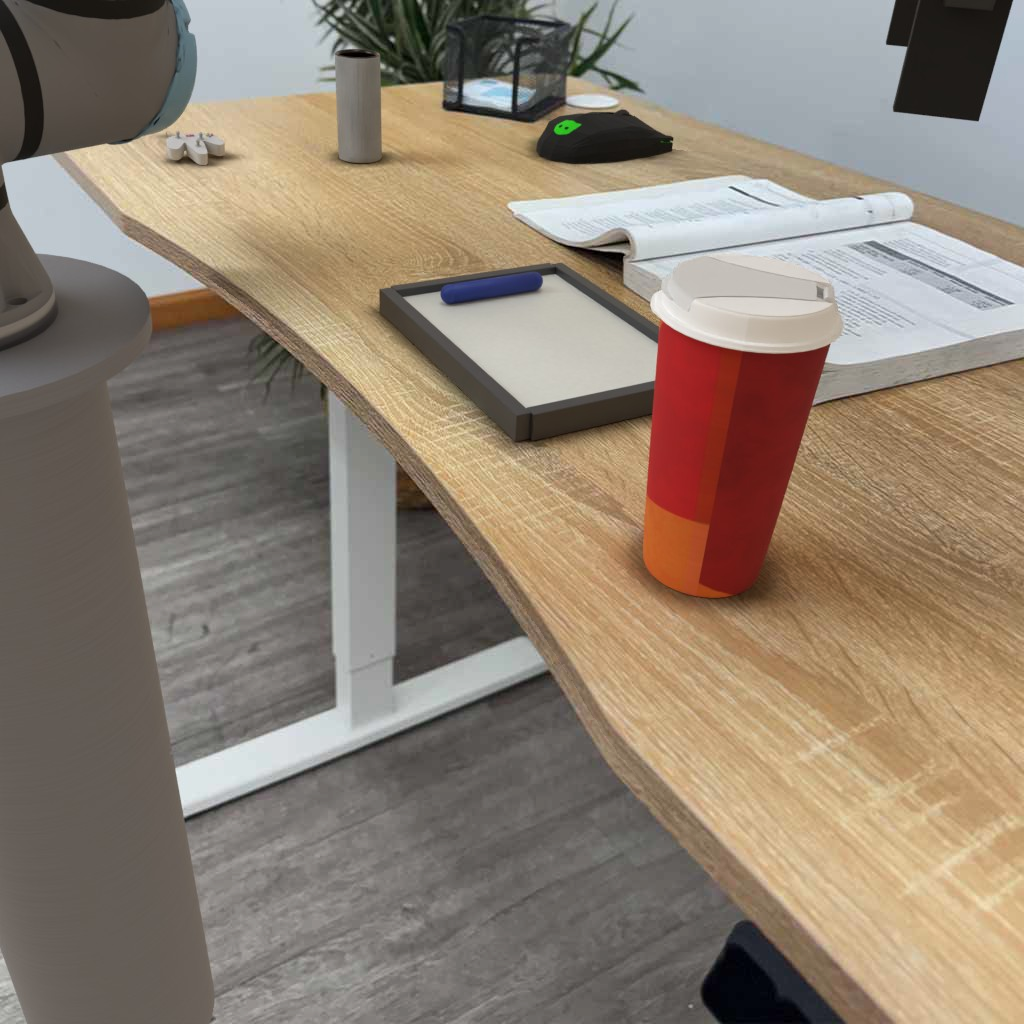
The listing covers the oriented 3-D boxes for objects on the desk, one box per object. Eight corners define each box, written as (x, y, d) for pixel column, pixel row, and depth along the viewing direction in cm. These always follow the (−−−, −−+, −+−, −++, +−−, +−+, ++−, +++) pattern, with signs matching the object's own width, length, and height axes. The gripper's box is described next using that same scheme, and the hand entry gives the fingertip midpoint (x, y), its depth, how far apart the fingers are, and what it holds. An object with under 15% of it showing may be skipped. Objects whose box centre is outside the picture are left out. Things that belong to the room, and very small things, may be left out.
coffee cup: (783, 531, 57) (847, 262, 48) (781, 626, 50) (854, 332, 42) (628, 505, 58) (665, 239, 50) (605, 594, 51) (643, 303, 43)
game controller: (188, 169, 105) (185, 142, 104) (121, 146, 111) (117, 120, 110) (234, 158, 109) (232, 132, 108) (167, 137, 115) (163, 111, 114)
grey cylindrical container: (348, 165, 109) (345, 58, 104) (331, 154, 112) (327, 49, 107) (388, 161, 111) (387, 56, 106) (371, 150, 114) (369, 47, 109)
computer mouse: (508, 143, 120) (510, 106, 117) (614, 127, 128) (618, 92, 126) (574, 169, 112) (578, 130, 110) (682, 150, 121) (687, 113, 119)
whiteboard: (377, 310, 79) (377, 276, 77) (558, 282, 85) (561, 250, 84) (517, 444, 63) (520, 405, 62) (725, 397, 70) (731, 361, 68)
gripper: (1519, -1077, 18) (1084, 173, 30) (1173, -599, 38) (995, 35, 50) (1054, -1035, 20) (813, 141, 31) (957, -596, 40) (833, 19, 52)
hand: (924, 77), depth 41 cm, fingers open, 13 cm apart
